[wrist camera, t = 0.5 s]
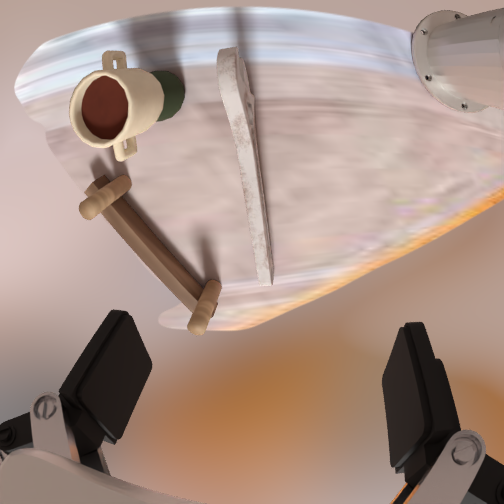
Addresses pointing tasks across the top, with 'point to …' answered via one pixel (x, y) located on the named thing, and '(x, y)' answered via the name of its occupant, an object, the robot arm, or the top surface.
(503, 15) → the robot arm
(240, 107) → the wrench
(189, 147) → the top surface
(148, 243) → the peg rack
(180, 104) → the character mug
